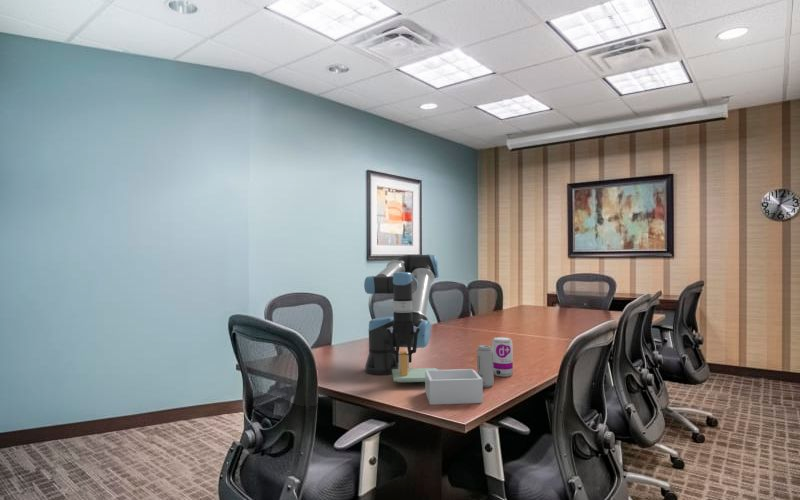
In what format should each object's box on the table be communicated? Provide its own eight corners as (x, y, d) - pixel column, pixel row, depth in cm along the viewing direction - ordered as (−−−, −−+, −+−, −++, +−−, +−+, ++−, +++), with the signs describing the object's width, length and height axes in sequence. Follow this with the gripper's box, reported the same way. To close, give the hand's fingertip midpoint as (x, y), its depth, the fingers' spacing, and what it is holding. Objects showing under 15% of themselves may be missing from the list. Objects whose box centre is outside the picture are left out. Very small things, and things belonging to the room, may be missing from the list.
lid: (393, 383, 171) (393, 357, 171) (392, 373, 186) (391, 349, 186) (442, 382, 172) (442, 356, 172) (437, 372, 187) (436, 348, 187)
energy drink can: (476, 383, 176) (475, 345, 177) (491, 383, 177) (490, 344, 177) (479, 388, 170) (479, 348, 171) (495, 387, 171) (495, 347, 171)
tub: (430, 404, 152) (429, 380, 152) (425, 392, 166) (424, 370, 166) (482, 402, 153) (482, 379, 153) (473, 390, 167) (473, 368, 167)
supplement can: (513, 377, 184) (512, 340, 185) (492, 376, 186) (492, 340, 186) (512, 372, 192) (511, 337, 193) (492, 371, 194) (492, 336, 194)
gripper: (383, 312, 175) (384, 374, 174) (423, 312, 176) (424, 372, 175) (383, 310, 182) (383, 369, 182) (421, 309, 183) (422, 368, 183)
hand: (403, 370), depth 179 cm, fingers closed on lid, 2 cm apart
